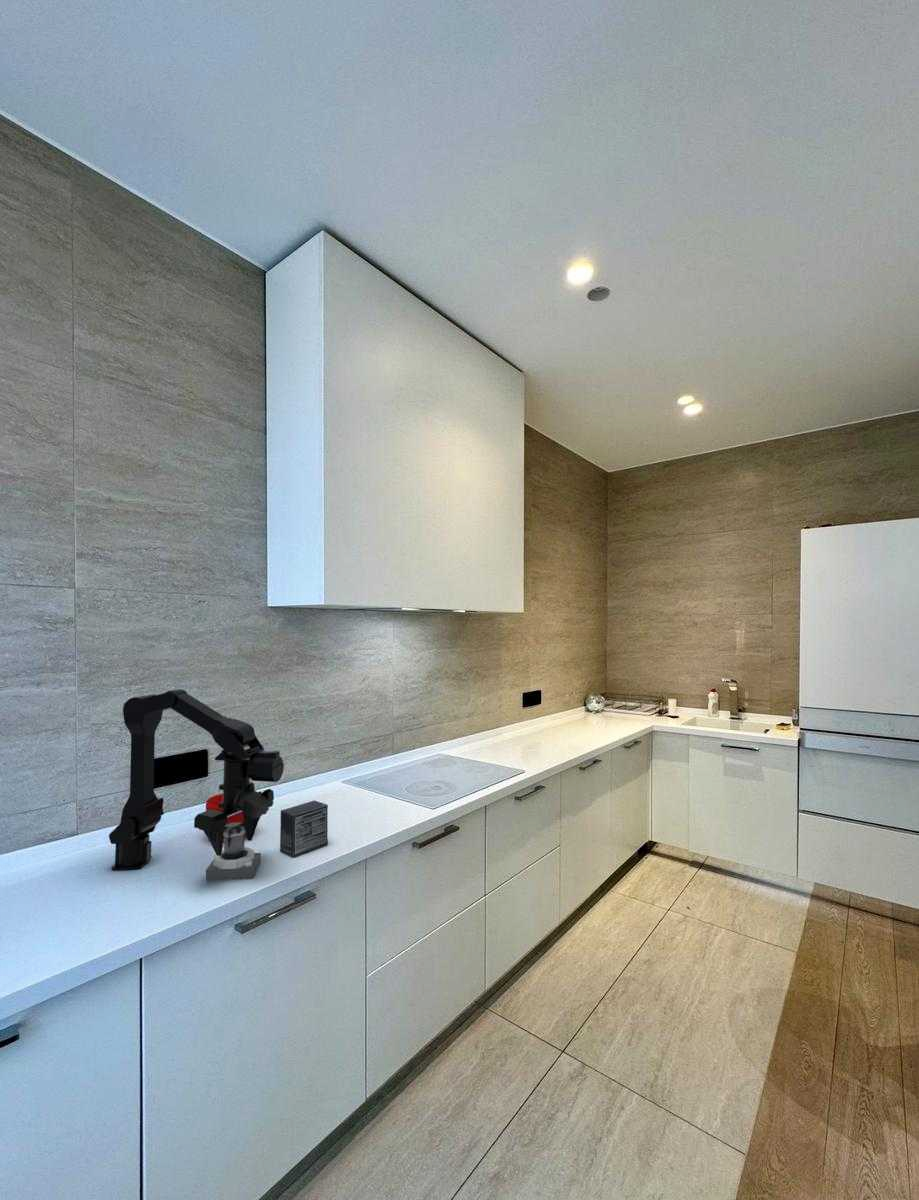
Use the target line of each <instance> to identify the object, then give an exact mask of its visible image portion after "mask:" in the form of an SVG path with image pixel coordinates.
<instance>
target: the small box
mask: <svg viewBox="0 0 919 1200" xmlns="http://www.w3.org/2000/svg"><path fill="white" fill-rule="evenodd" d="M328 808H329V805H328V804H327V803H324V802H320V801H317V800H312V801H308V802H304V803H302V804H298V805H295V806H291V807H288V808H285V809H281V810H280V827H279V828H280V833H279V834H280V835H279V836H280V838H279V844H280V846H279V852H281V853H283V854H285V855H287V856H288V857H291V858H292V859H294V858H297V857H299V856H303V855H305V854H308V853H309V852H313V851H316V850H318V849H321V848H323V847H326V846H328V844H329V841H328V838H329V837H328V831H329V830H328V828H329V827H328V825H329V824H328V823H329V822H328V819H329V818H328V817H329V816H328V815H329V814H328V813H329V812H328Z"/></svg>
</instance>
